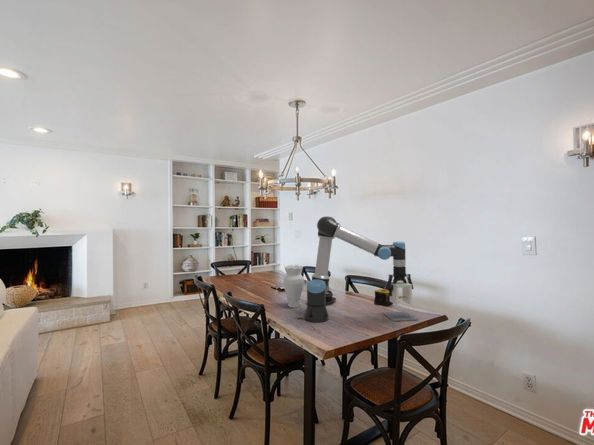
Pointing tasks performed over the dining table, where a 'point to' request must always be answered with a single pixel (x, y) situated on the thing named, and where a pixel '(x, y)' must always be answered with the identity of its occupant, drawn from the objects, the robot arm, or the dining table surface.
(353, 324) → the dining table surface
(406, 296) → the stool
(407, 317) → the mat
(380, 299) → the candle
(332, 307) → the dining table surface
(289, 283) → the vase
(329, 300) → the casserole
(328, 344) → the dining table surface
